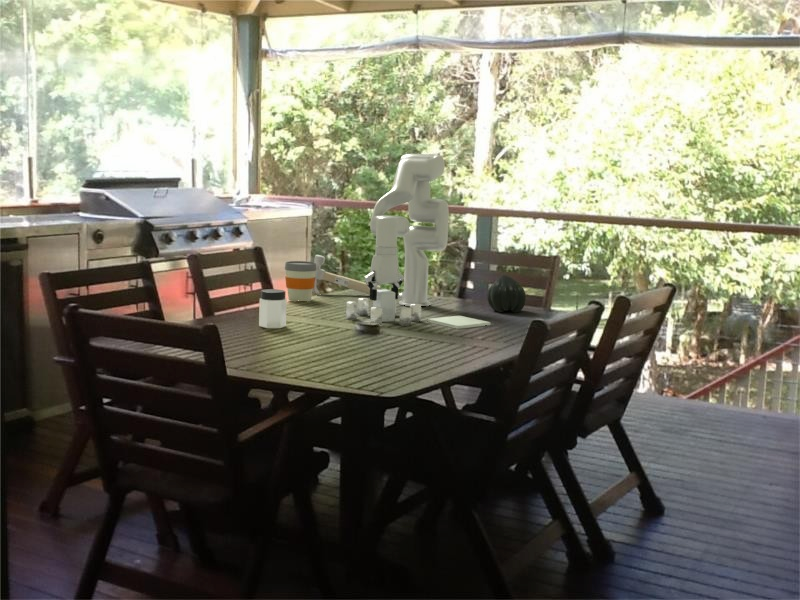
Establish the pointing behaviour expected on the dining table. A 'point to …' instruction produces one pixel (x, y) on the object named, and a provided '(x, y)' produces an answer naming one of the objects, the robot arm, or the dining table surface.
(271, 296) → the jar
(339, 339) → the dining table surface
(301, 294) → the reusable coffee cup
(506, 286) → the squash
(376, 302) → the small box
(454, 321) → the pad
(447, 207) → the robot arm
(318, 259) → the hammer
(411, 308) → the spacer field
